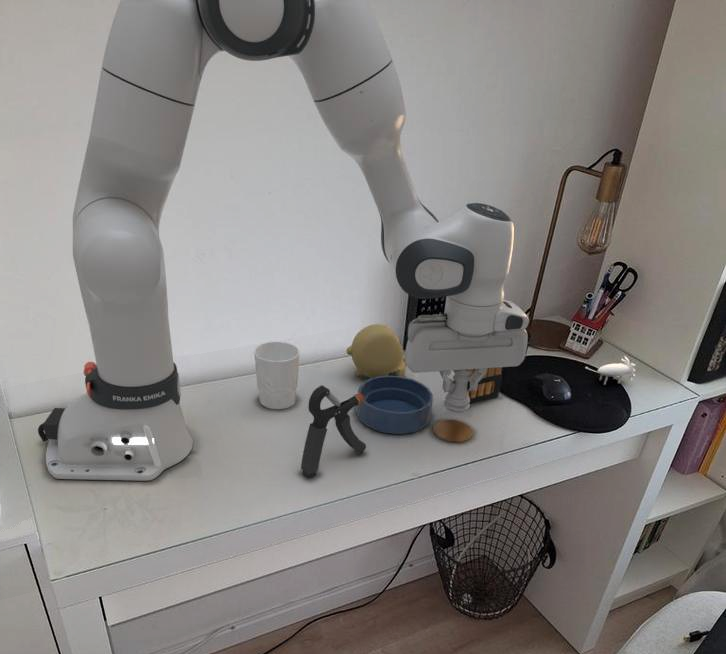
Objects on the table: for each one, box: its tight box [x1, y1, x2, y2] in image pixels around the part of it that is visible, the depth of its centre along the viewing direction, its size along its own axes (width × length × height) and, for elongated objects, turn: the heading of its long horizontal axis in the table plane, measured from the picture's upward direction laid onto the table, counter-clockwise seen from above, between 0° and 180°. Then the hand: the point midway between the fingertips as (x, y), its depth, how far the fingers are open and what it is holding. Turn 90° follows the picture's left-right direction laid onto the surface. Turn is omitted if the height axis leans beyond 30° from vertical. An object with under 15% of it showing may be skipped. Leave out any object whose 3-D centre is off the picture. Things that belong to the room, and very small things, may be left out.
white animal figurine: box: [584, 355, 638, 386], centre depth 139 cm, size 12×5×5 cm, turn 106°
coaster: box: [432, 419, 473, 444], centre depth 122 cm, size 7×7×1 cm
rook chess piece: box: [443, 369, 472, 413], centre depth 116 cm, size 4×4×8 cm
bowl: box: [356, 376, 434, 435], centre depth 124 cm, size 13×13×4 cm
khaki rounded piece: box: [346, 323, 408, 379], centre depth 134 cm, size 10×12×11 cm
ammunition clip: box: [467, 367, 503, 405], centre depth 128 cm, size 11×2×12 cm, turn 120°
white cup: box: [253, 341, 300, 410], centre depth 123 cm, size 8×8×10 cm
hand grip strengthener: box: [300, 384, 367, 479], centre depth 107 cm, size 2×13×15 cm, turn 131°
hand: (459, 389), depth 117 cm, fingers closed on rook chess piece, 3 cm apart
